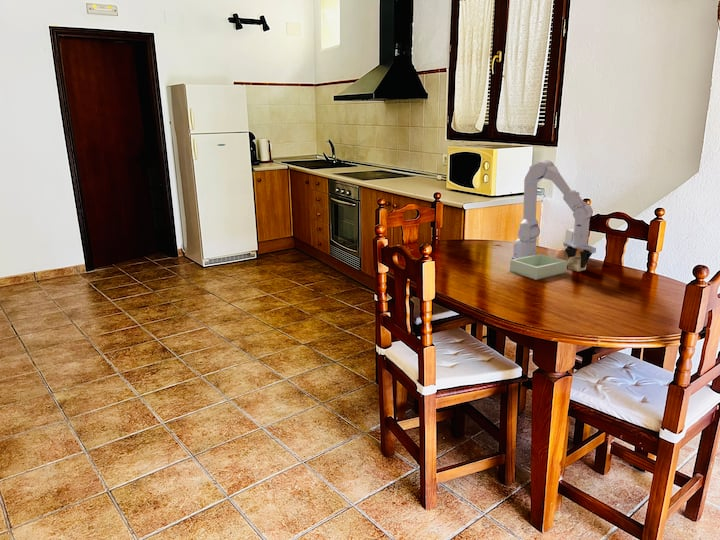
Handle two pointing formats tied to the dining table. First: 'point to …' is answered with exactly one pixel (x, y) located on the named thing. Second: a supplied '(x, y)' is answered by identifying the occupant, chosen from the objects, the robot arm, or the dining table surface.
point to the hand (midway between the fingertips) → (577, 265)
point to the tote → (538, 266)
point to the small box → (570, 238)
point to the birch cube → (575, 263)
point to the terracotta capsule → (561, 254)
